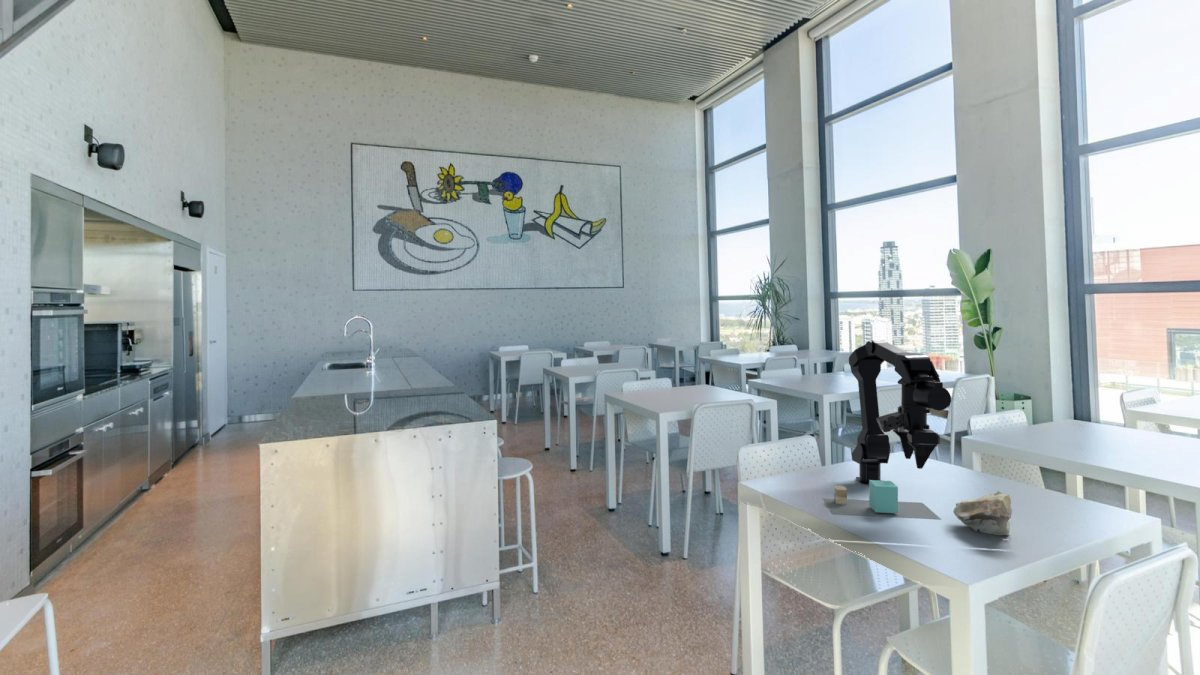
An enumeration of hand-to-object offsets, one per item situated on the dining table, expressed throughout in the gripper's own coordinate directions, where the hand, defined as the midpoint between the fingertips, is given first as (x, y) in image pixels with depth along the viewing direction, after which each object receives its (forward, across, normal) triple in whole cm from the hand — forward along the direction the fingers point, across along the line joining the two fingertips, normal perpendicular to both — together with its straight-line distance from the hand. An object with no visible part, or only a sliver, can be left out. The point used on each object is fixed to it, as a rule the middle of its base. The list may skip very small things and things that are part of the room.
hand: (913, 463), depth 141 cm
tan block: (+11, 0, -18) cm, 21 cm away
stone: (+12, +14, +10) cm, 21 cm away
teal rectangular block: (+11, +5, -8) cm, 15 cm away
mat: (+12, +3, -9) cm, 15 cm away
